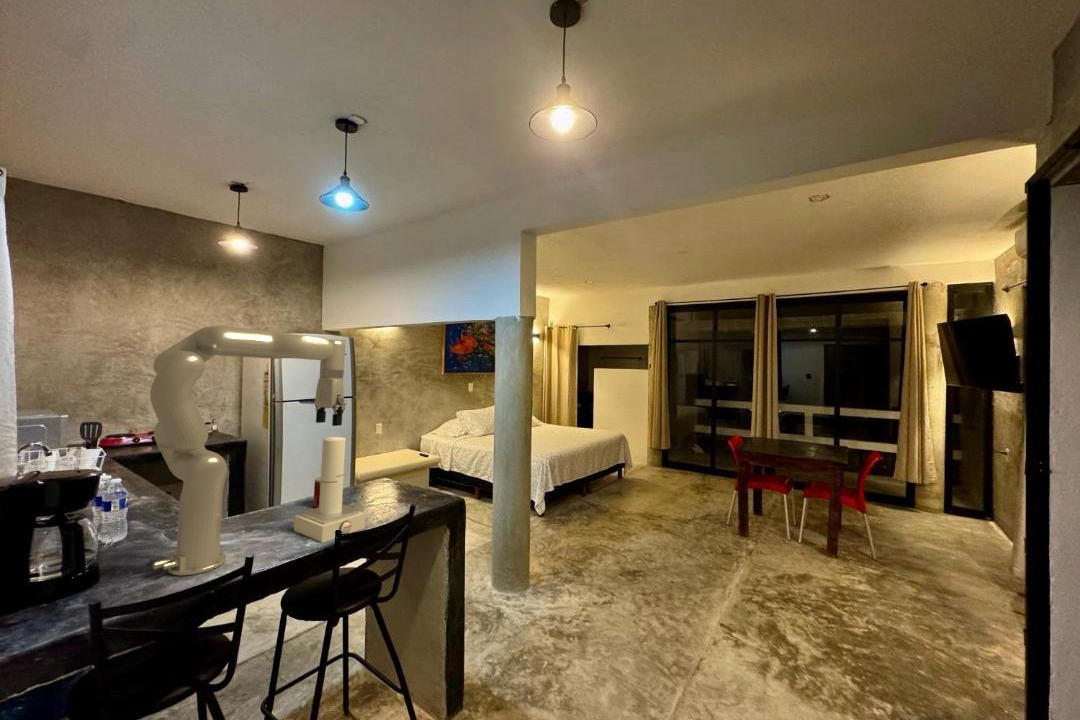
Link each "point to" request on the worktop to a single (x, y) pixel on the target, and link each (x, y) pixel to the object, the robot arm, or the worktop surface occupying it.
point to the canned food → (317, 492)
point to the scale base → (328, 526)
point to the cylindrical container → (332, 475)
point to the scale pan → (328, 518)
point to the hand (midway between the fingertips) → (328, 423)
